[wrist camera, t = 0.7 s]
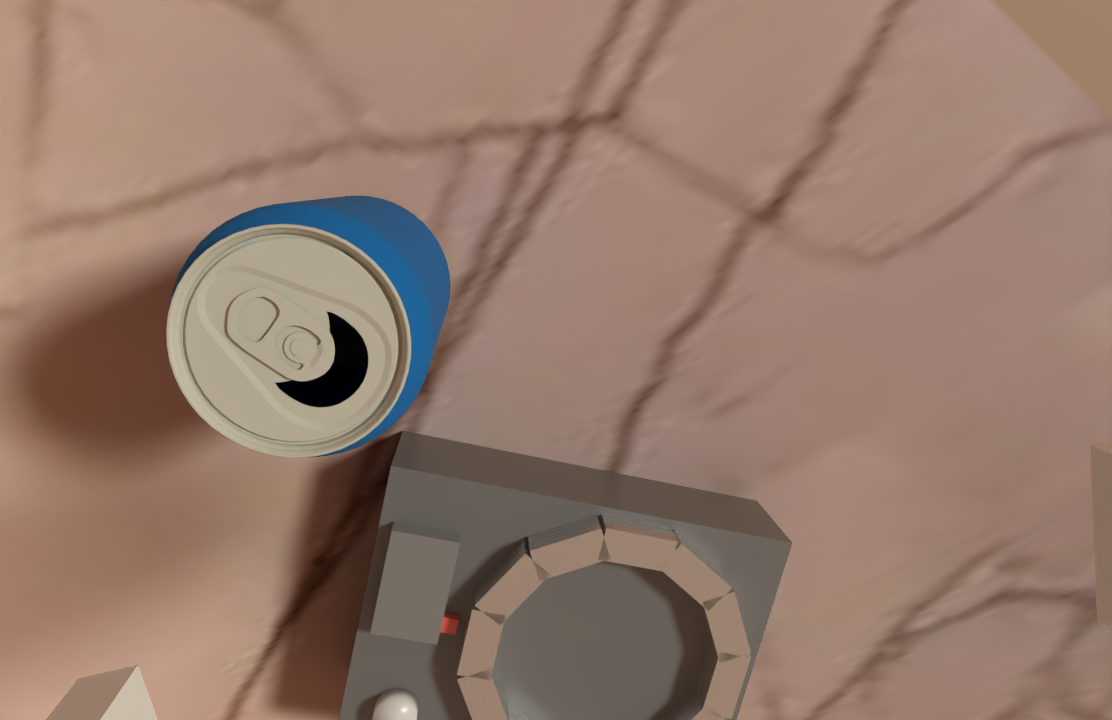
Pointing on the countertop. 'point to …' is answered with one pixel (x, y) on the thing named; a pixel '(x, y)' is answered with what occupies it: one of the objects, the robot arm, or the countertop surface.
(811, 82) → the countertop surface
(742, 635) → the mount ring
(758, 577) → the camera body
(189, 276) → the beverage can
